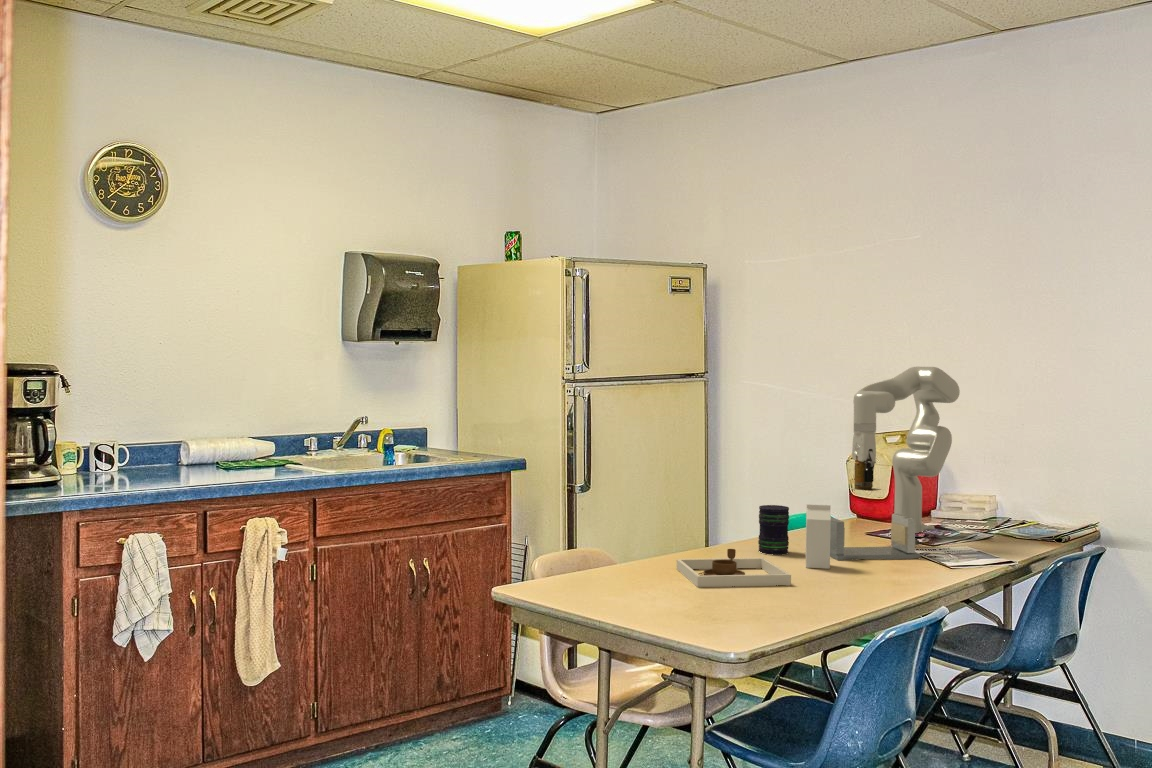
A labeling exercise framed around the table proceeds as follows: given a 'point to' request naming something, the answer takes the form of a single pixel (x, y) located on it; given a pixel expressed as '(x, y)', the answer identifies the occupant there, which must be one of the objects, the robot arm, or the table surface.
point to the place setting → (724, 566)
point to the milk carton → (818, 536)
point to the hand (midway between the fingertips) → (864, 480)
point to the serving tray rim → (771, 579)
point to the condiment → (861, 477)
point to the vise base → (860, 552)
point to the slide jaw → (903, 533)
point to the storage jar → (773, 529)
